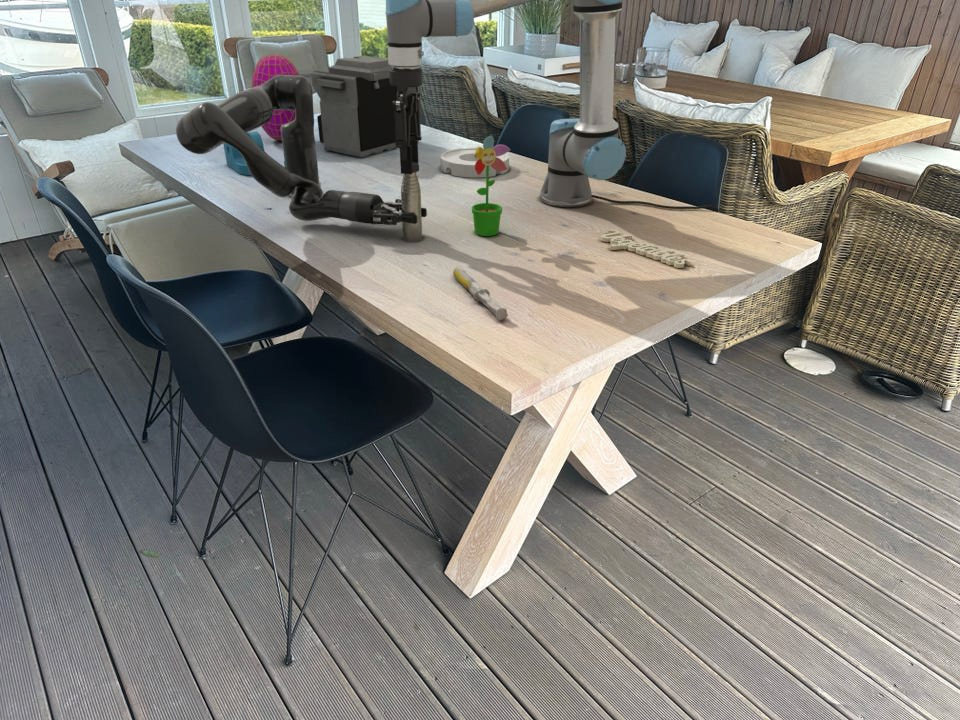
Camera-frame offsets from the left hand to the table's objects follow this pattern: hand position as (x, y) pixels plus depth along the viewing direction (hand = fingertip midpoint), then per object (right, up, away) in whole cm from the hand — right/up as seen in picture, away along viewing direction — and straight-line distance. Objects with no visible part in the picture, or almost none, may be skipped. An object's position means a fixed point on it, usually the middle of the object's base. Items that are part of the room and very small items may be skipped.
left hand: (421, 215), depth 171 cm
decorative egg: (-61, +49, +94) cm, 122 cm away
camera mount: (-62, +28, +58) cm, 90 cm away
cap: (-2, +11, -6) cm, 13 cm away
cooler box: (-26, +45, +87) cm, 102 cm away
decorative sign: (+54, -9, -2) cm, 55 cm away
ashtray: (+13, +29, +62) cm, 69 cm away
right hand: (-2, +10, -5) cm, 11 cm away
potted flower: (+17, -3, +8) cm, 19 cm away
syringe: (+14, -23, -26) cm, 37 cm away
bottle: (-3, -5, +4) cm, 7 cm away
